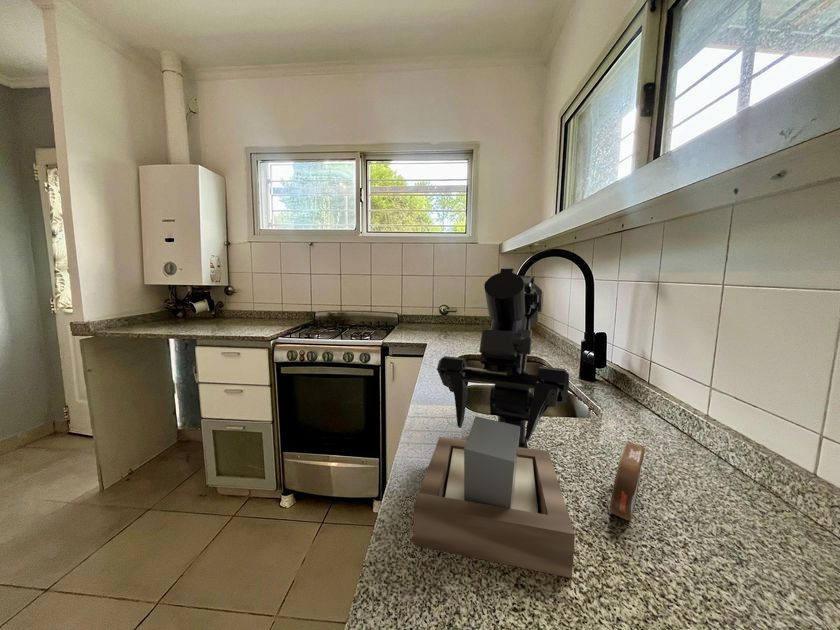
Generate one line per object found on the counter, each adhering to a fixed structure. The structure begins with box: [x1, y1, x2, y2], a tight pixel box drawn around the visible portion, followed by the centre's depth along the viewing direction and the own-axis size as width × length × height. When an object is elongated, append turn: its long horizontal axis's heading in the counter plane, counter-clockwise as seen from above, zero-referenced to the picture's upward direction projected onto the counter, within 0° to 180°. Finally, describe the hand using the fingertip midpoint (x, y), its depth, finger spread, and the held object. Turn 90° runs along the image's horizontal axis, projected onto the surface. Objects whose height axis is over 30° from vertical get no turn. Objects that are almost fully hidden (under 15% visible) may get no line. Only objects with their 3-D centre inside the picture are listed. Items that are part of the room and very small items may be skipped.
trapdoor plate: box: [445, 448, 538, 513], centre depth 48 cm, size 13×13×1 cm
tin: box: [609, 440, 646, 521], centre depth 50 cm, size 15×3×8 cm, turn 141°
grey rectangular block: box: [464, 415, 520, 509], centre depth 43 cm, size 6×6×12 cm
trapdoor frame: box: [412, 436, 576, 579], centre depth 48 cm, size 19×19×6 cm
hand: (491, 433), depth 44 cm, fingers open, 9 cm apart
